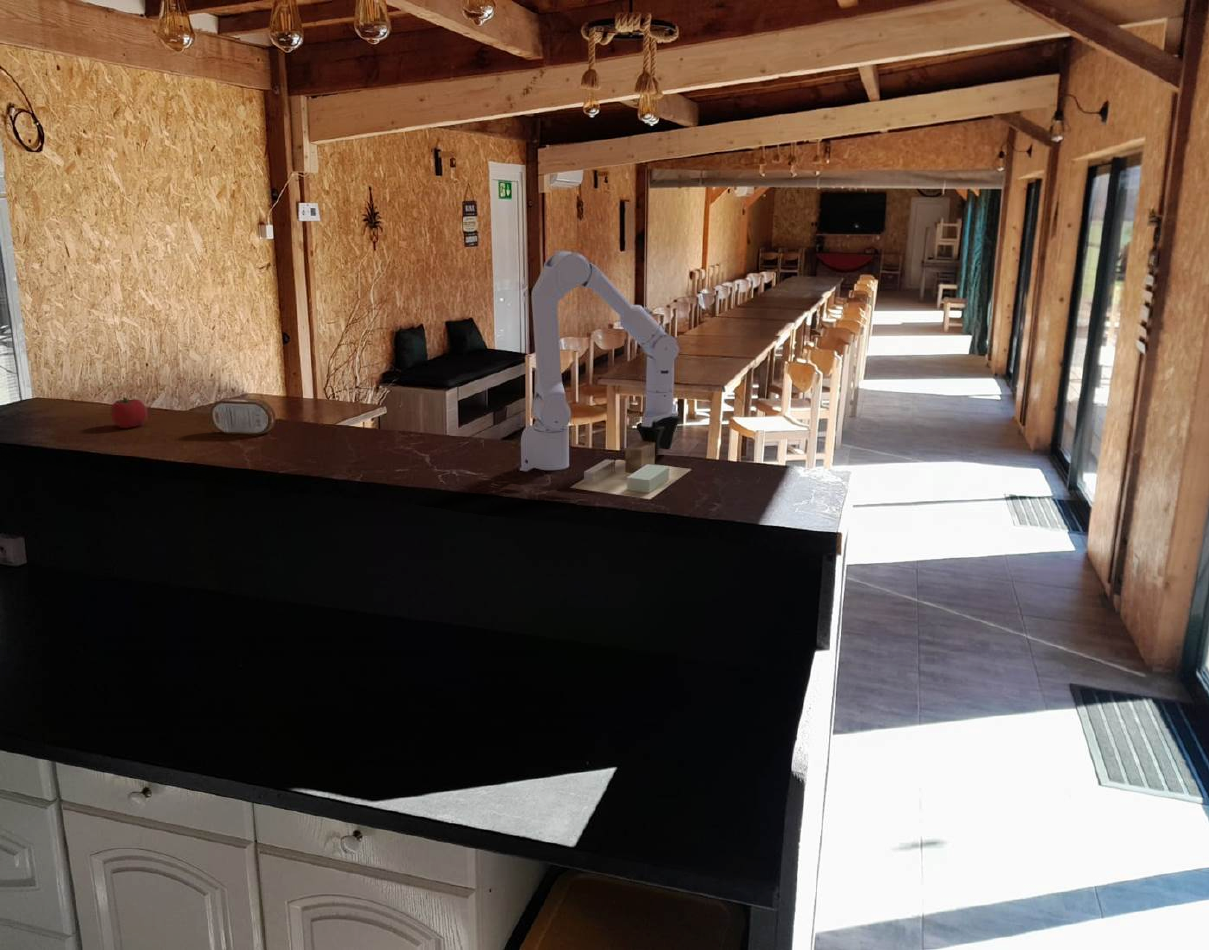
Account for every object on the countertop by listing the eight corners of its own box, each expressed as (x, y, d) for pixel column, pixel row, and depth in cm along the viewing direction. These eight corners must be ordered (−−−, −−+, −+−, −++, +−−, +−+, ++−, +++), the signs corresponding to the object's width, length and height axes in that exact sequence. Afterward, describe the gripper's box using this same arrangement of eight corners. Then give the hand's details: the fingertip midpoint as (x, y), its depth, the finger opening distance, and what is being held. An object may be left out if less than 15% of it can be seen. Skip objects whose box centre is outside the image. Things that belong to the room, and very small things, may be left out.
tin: (277, 433, 223) (274, 398, 221) (271, 436, 220) (268, 401, 218) (217, 431, 225) (213, 396, 222) (210, 434, 222) (206, 399, 219)
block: (625, 472, 189) (625, 448, 188) (639, 463, 195) (639, 440, 194) (641, 474, 188) (641, 450, 186) (654, 465, 194) (655, 442, 192)
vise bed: (570, 492, 179) (570, 487, 179) (617, 464, 198) (618, 459, 198) (649, 504, 173) (649, 499, 172) (691, 473, 192) (691, 469, 191)
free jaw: (626, 489, 177) (626, 477, 177) (647, 476, 186) (647, 464, 185) (649, 493, 175) (649, 480, 175) (669, 479, 184) (669, 467, 183)
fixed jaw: (584, 484, 181) (584, 471, 180) (606, 471, 190) (606, 459, 189) (593, 485, 180) (593, 473, 180) (615, 472, 189) (615, 460, 188)
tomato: (121, 432, 223) (117, 402, 221) (106, 426, 228) (101, 397, 226) (154, 426, 229) (150, 397, 227) (138, 421, 234) (134, 392, 232)
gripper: (664, 398, 188) (663, 463, 192) (689, 385, 200) (688, 447, 204) (632, 394, 191) (631, 459, 195) (659, 382, 203) (657, 443, 207)
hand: (658, 453), depth 200 cm, fingers open, 7 cm apart
